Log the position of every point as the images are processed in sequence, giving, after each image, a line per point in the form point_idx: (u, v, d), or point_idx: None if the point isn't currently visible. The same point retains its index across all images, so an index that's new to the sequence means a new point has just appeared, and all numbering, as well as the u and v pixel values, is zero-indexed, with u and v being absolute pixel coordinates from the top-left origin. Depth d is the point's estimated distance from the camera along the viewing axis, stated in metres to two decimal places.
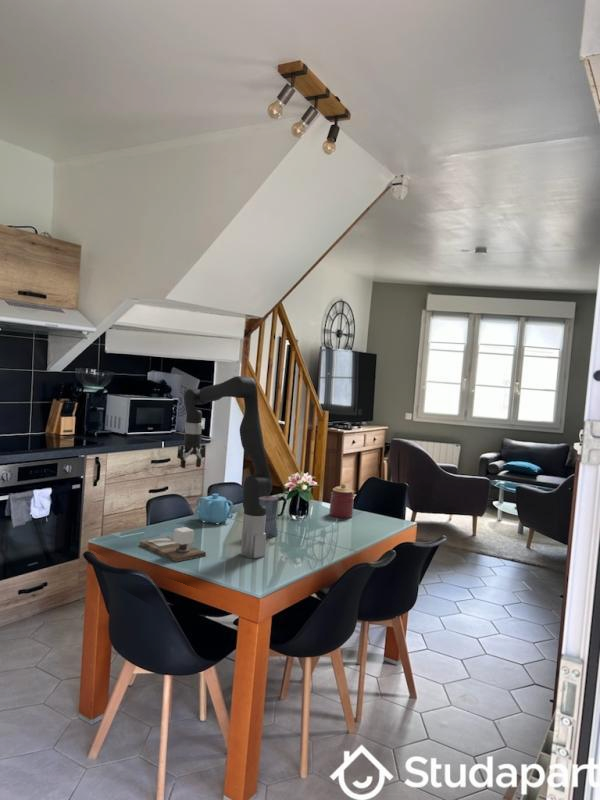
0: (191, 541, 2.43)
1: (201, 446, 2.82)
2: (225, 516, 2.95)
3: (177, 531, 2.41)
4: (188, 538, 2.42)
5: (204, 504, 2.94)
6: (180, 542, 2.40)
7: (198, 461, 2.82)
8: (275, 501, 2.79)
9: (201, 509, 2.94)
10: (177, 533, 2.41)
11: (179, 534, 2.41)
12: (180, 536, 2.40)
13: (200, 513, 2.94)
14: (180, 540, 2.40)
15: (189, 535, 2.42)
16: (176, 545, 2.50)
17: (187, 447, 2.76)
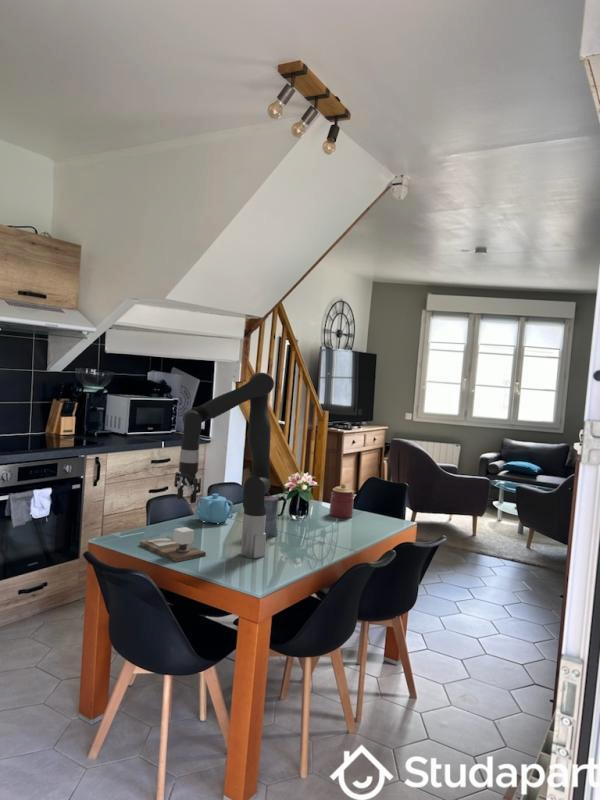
0: (191, 541, 2.43)
1: None
2: (225, 516, 2.95)
3: (177, 531, 2.41)
4: (188, 538, 2.42)
5: (204, 504, 2.94)
6: (180, 542, 2.40)
7: (182, 491, 2.46)
8: (275, 501, 2.79)
9: (201, 509, 2.94)
10: (177, 533, 2.41)
11: (179, 534, 2.41)
12: (180, 536, 2.40)
13: (200, 513, 2.94)
14: (180, 540, 2.40)
15: (189, 535, 2.42)
16: (176, 545, 2.50)
17: None
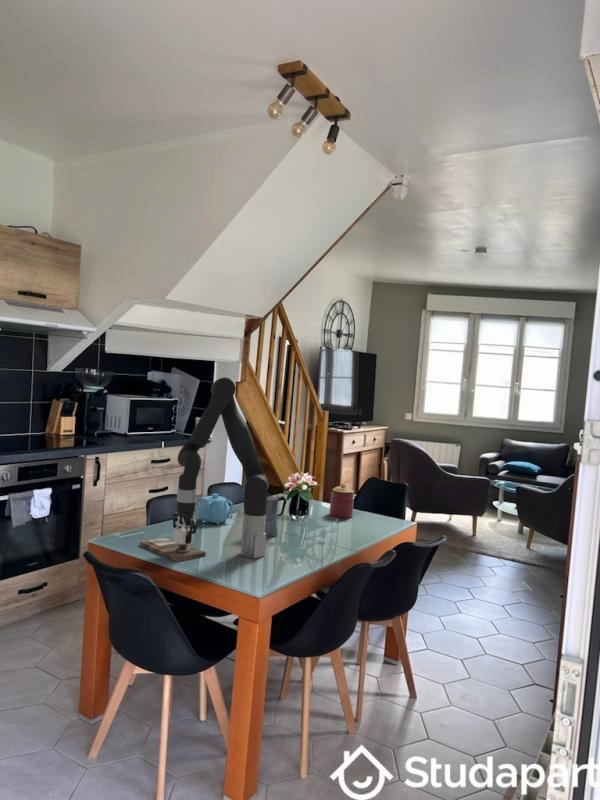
0: (191, 541, 2.43)
1: None
2: (225, 516, 2.95)
3: (177, 531, 2.41)
4: None
5: (204, 504, 2.94)
6: (180, 542, 2.40)
7: None
8: (275, 501, 2.79)
9: (201, 509, 2.94)
10: (177, 533, 2.41)
11: (179, 534, 2.41)
12: (180, 536, 2.40)
13: (200, 513, 2.94)
14: (180, 540, 2.40)
15: None
16: (176, 545, 2.50)
17: None
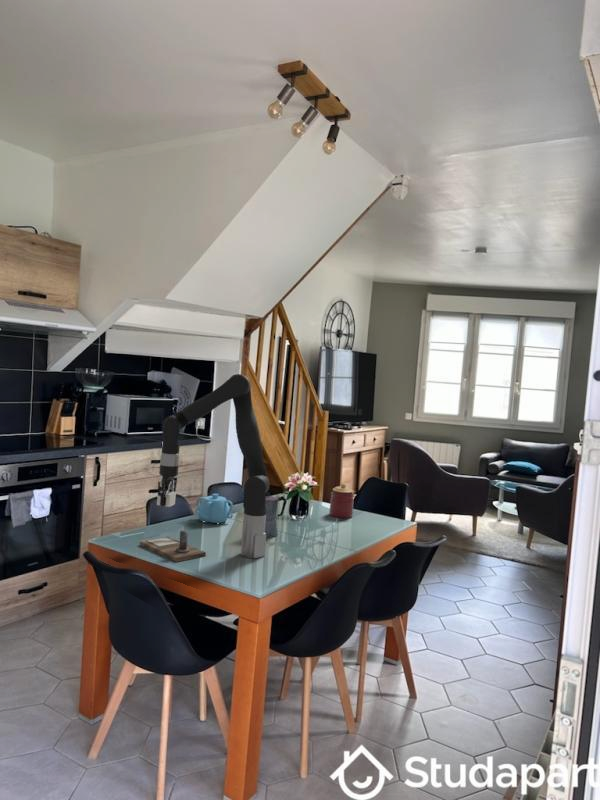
0: (167, 505, 2.48)
1: (174, 479, 2.55)
2: (225, 516, 2.95)
3: None
4: None
5: (204, 504, 2.94)
6: None
7: None
8: (275, 501, 2.79)
9: (201, 509, 2.94)
10: None
11: None
12: None
13: (200, 513, 2.94)
14: None
15: None
16: (176, 545, 2.50)
17: (166, 481, 2.47)
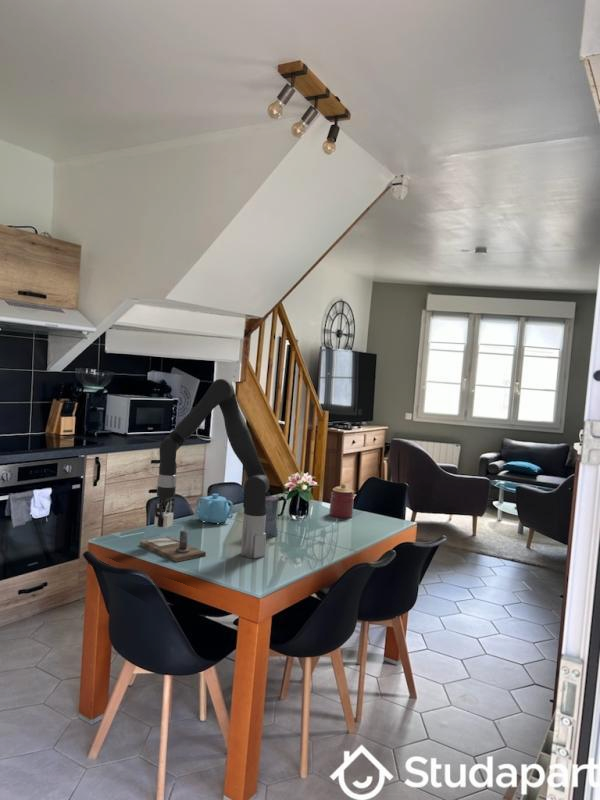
0: (164, 526, 2.50)
1: None
2: (225, 516, 2.95)
3: None
4: None
5: (204, 504, 2.94)
6: None
7: None
8: (275, 501, 2.79)
9: (201, 509, 2.94)
10: None
11: None
12: None
13: (200, 513, 2.94)
14: None
15: None
16: (176, 545, 2.50)
17: (164, 502, 2.49)
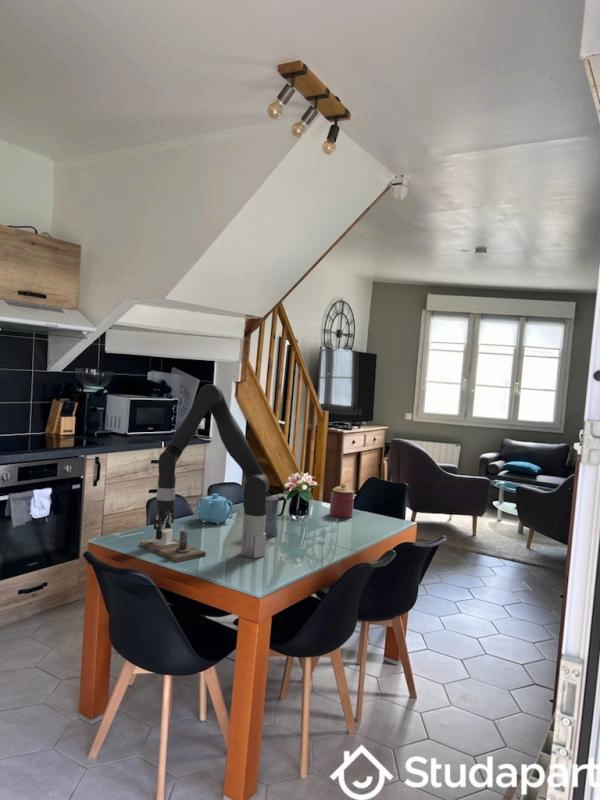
0: (163, 542, 2.50)
1: (170, 511, 2.57)
2: (225, 516, 2.95)
3: None
4: (161, 538, 2.50)
5: (204, 504, 2.94)
6: None
7: (169, 528, 2.56)
8: (275, 501, 2.79)
9: (201, 509, 2.94)
10: None
11: None
12: None
13: (200, 513, 2.94)
14: None
15: None
16: (176, 545, 2.50)
17: (163, 515, 2.49)
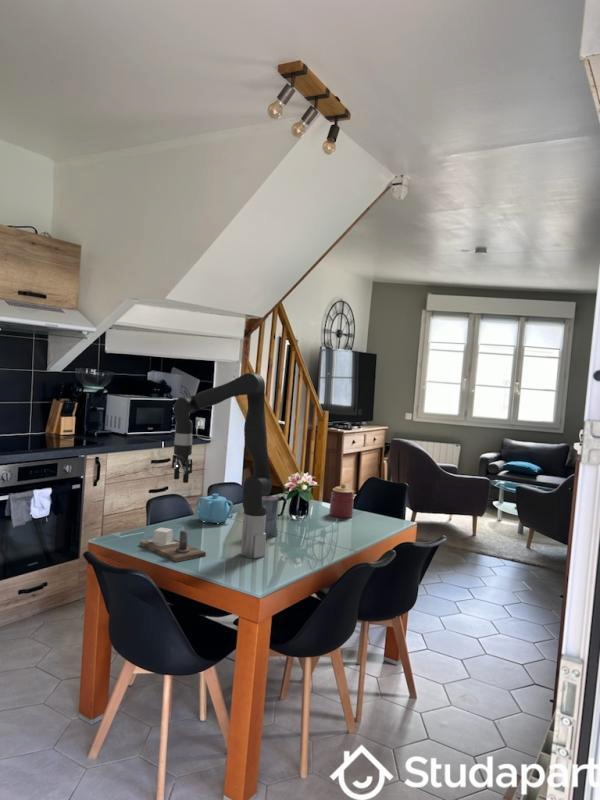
0: (163, 542, 2.50)
1: None
2: (225, 516, 2.95)
3: None
4: (161, 538, 2.50)
5: (204, 504, 2.94)
6: None
7: (178, 473, 2.65)
8: (275, 501, 2.79)
9: (201, 509, 2.94)
10: None
11: None
12: None
13: (200, 513, 2.94)
14: None
15: (161, 536, 2.50)
16: (176, 545, 2.50)
17: None
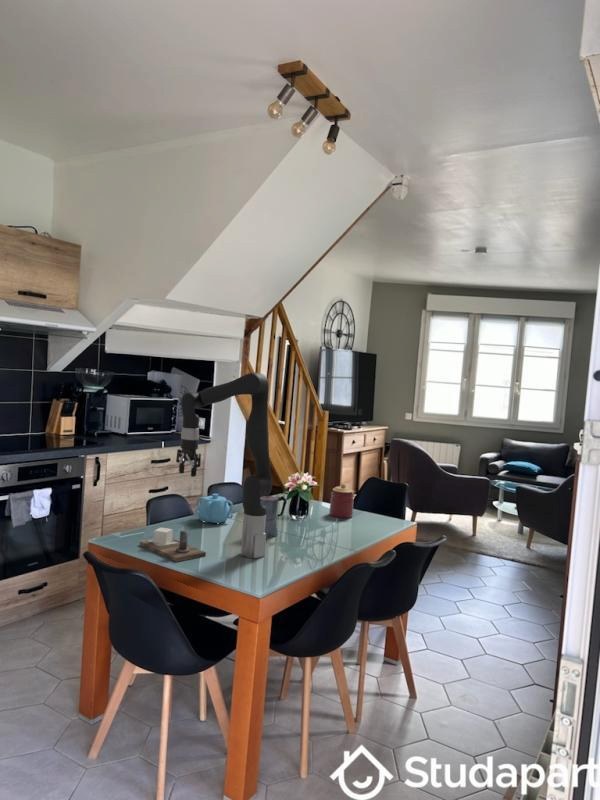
0: (163, 542, 2.50)
1: None
2: (225, 516, 2.95)
3: None
4: (161, 538, 2.50)
5: (204, 504, 2.94)
6: None
7: (183, 467, 2.68)
8: (275, 501, 2.79)
9: (201, 509, 2.94)
10: None
11: None
12: None
13: (200, 513, 2.94)
14: None
15: (161, 536, 2.50)
16: (176, 545, 2.50)
17: None
